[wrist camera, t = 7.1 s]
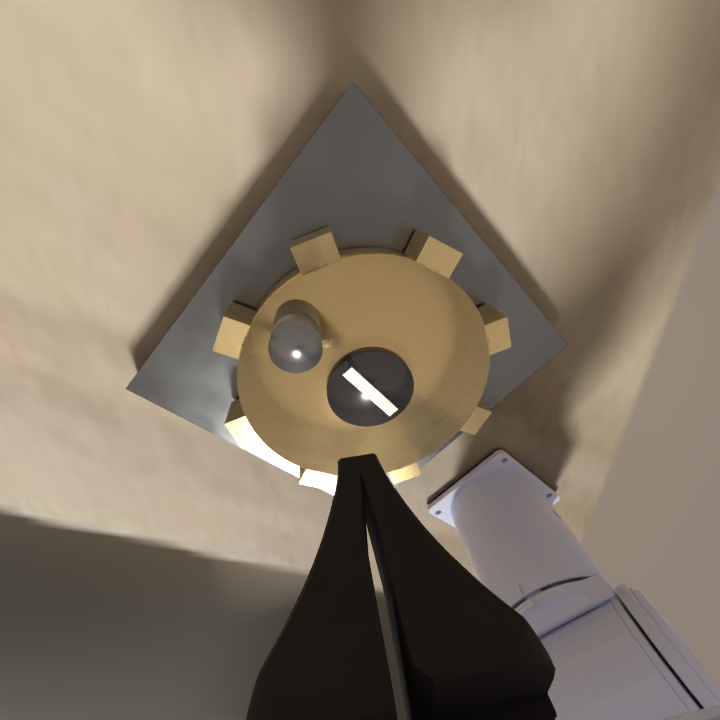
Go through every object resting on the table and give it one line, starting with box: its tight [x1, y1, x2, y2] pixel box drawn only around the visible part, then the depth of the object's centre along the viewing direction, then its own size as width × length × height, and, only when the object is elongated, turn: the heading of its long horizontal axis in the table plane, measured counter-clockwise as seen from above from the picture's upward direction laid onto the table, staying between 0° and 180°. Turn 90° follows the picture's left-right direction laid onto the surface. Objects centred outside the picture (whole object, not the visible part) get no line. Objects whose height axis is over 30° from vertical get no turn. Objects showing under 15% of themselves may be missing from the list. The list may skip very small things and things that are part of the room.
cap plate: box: [126, 82, 567, 495], centre depth 20 cm, size 18×18×2 cm
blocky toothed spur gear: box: [212, 226, 511, 489], centre depth 17 cm, size 15×15×5 cm
